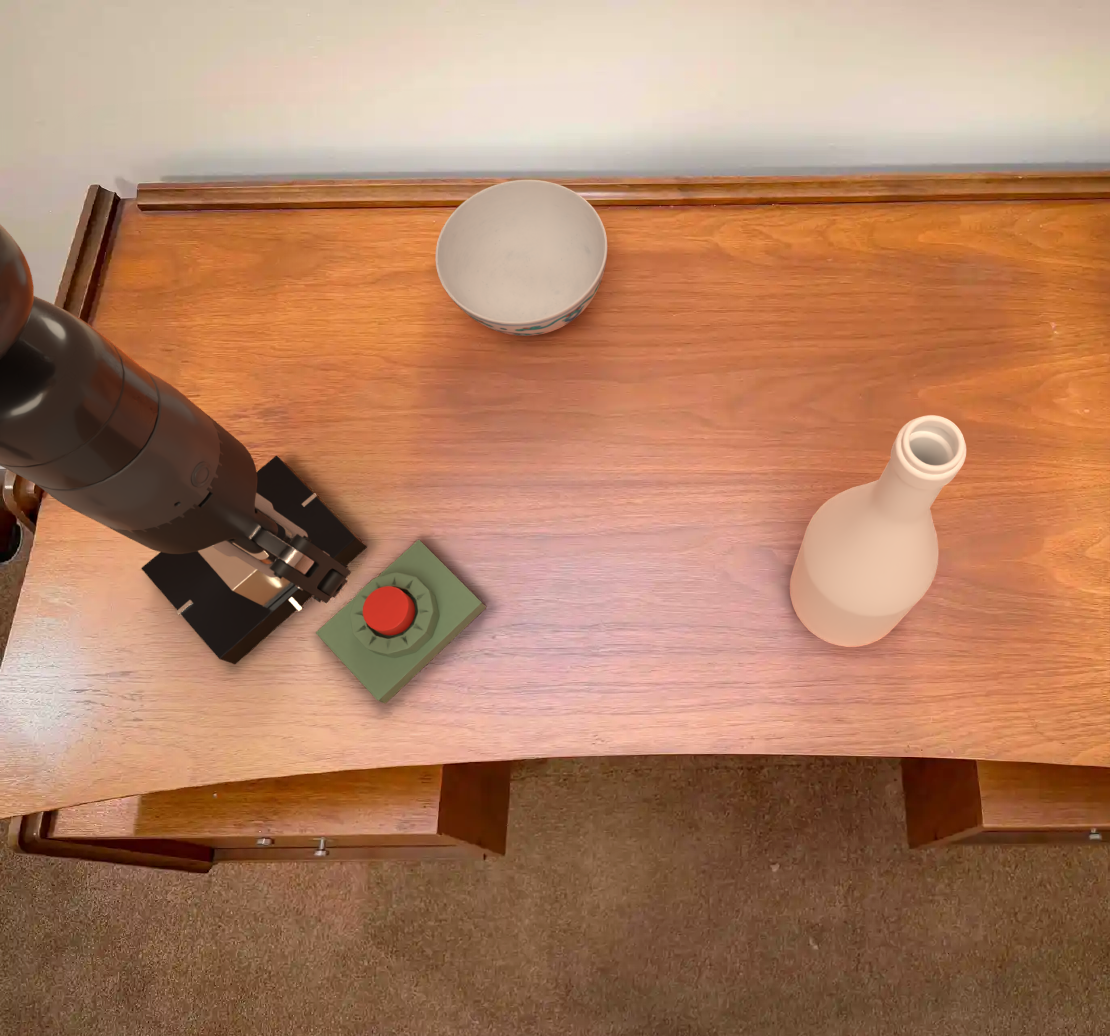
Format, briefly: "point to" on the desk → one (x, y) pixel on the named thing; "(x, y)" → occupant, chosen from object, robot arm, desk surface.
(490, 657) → the desk surface
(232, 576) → the silver metal block
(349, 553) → the black flat square plate
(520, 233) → the chinaware
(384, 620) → the button
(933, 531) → the beige ceramic bottle
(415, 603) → the green rectangular block
